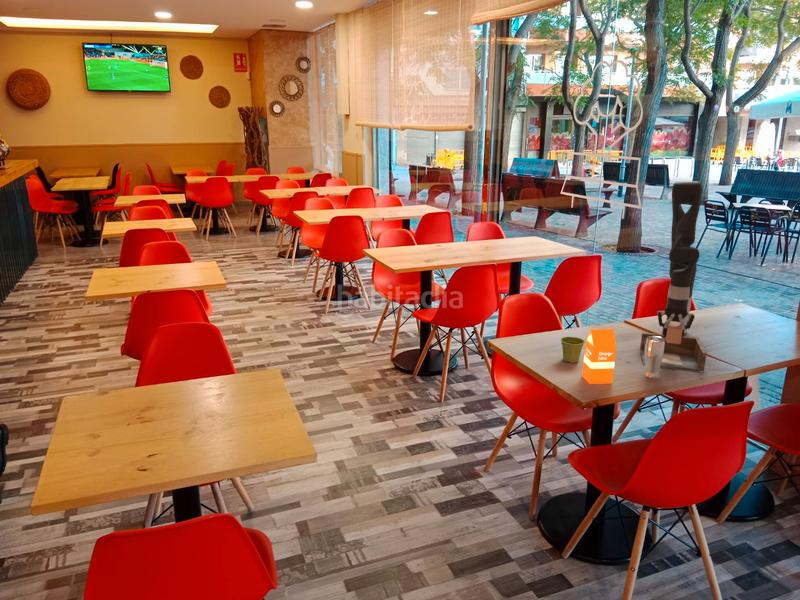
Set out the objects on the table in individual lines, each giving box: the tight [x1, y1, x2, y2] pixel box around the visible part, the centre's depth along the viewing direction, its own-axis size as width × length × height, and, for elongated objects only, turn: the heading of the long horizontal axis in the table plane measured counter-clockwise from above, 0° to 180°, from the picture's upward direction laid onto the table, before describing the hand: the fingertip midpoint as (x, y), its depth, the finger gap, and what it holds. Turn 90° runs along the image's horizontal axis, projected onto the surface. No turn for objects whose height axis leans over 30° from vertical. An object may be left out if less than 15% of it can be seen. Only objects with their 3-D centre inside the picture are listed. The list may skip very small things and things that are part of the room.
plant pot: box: [560, 336, 586, 364], centre depth 249 cm, size 9×9×9 cm
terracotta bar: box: [665, 322, 683, 344], centre depth 246 cm, size 10×5×6 cm, turn 163°
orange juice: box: [581, 328, 617, 385], centre depth 229 cm, size 8×9×20 cm
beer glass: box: [642, 336, 665, 380], centre depth 233 cm, size 7×7×15 cm
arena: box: [639, 331, 707, 373], centre depth 249 cm, size 18×22×8 cm
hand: (672, 337), depth 247 cm, fingers closed on terracotta bar, 5 cm apart
